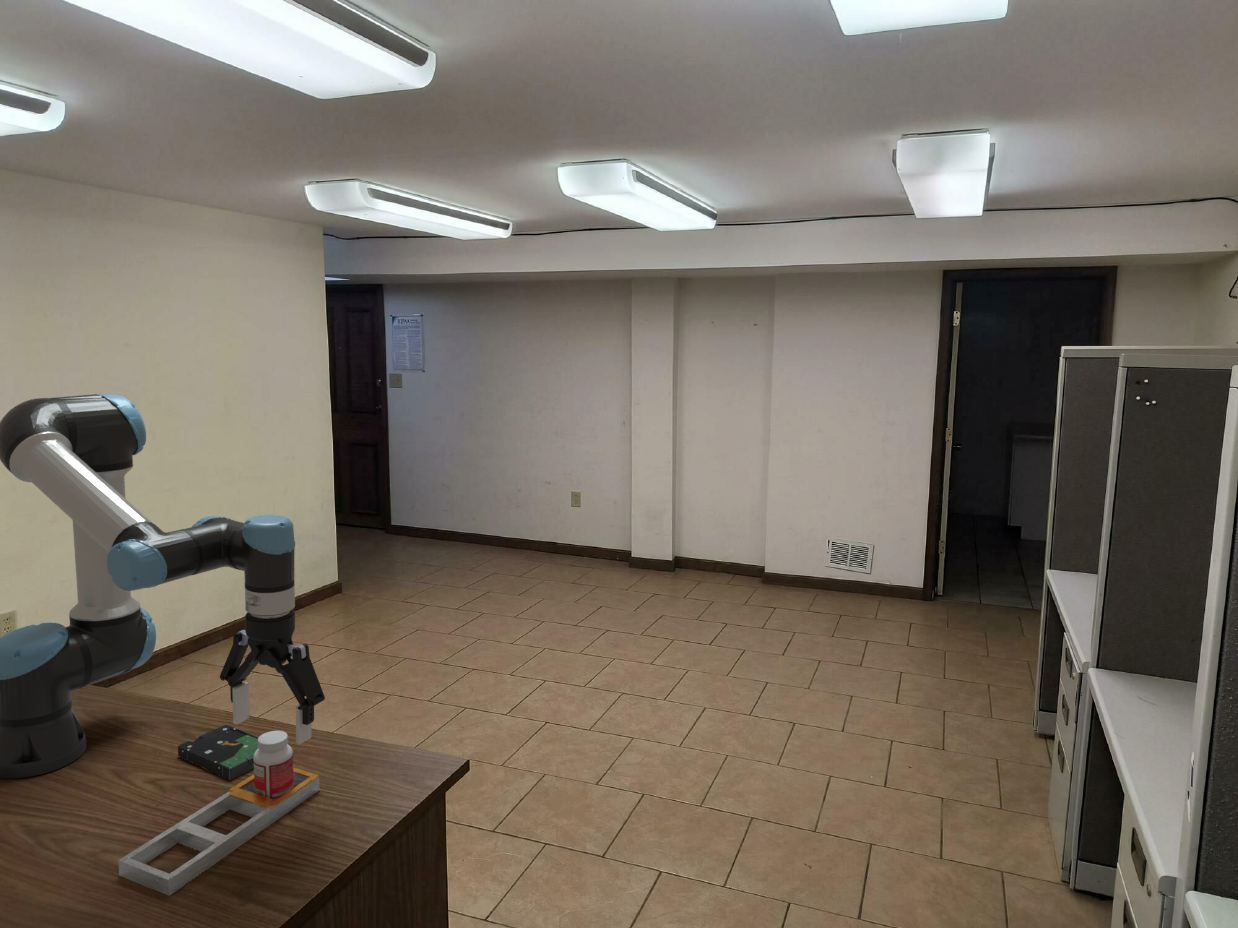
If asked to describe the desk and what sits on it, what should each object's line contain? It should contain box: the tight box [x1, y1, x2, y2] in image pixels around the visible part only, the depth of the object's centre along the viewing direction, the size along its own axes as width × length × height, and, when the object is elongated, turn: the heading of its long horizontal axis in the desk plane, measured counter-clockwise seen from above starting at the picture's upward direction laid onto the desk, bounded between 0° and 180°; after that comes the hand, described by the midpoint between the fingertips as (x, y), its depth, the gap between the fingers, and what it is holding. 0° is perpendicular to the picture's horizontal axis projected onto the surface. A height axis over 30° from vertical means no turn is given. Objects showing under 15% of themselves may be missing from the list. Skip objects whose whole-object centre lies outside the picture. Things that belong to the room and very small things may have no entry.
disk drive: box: [177, 724, 259, 781], centre depth 156 cm, size 10×3×15 cm
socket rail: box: [118, 766, 320, 897], centre depth 134 cm, size 10×30×3 cm, turn 158°
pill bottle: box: [253, 730, 295, 800], centre depth 143 cm, size 6×6×11 cm
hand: (271, 730), depth 142 cm, fingers open, 13 cm apart
